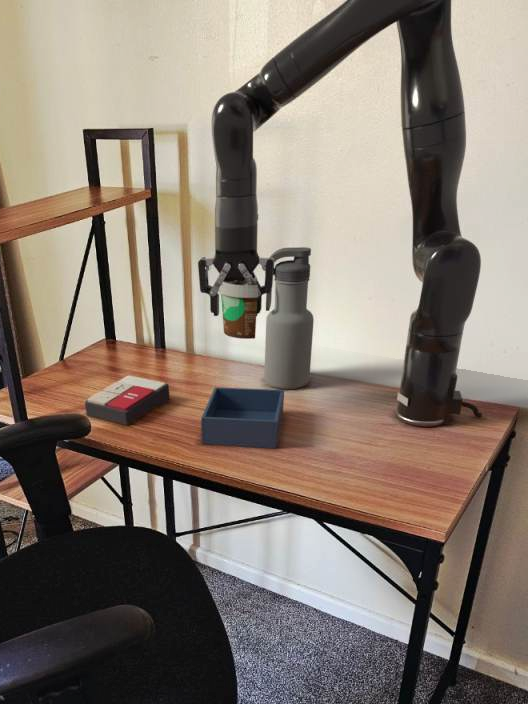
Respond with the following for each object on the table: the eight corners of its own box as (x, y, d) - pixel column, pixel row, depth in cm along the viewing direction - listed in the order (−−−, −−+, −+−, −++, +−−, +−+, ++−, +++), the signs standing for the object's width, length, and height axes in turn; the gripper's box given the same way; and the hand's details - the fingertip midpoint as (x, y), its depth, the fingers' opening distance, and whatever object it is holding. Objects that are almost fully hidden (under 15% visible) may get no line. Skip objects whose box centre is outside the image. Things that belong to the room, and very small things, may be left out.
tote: (282, 415, 141) (284, 389, 138) (276, 448, 128) (277, 421, 125) (214, 411, 144) (214, 387, 141) (201, 444, 131) (201, 417, 129)
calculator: (83, 398, 144) (127, 372, 154) (86, 417, 146) (129, 390, 156) (126, 408, 138) (169, 380, 148) (128, 428, 140) (170, 399, 150)
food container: (212, 324, 141) (212, 272, 136) (243, 321, 141) (243, 270, 136) (224, 343, 130) (224, 288, 125) (256, 340, 131) (258, 285, 126)
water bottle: (259, 389, 153) (264, 254, 138) (264, 373, 161) (268, 244, 146) (308, 391, 150) (317, 254, 136) (310, 375, 158) (319, 244, 144)
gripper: (192, 226, 124) (194, 320, 133) (274, 225, 121) (271, 321, 129) (200, 219, 130) (202, 309, 139) (279, 217, 127) (276, 310, 135)
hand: (235, 315), depth 134 cm, fingers closed on food container, 7 cm apart
